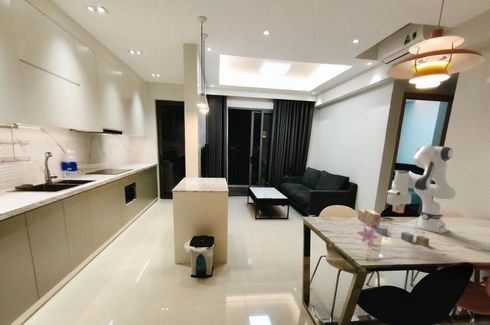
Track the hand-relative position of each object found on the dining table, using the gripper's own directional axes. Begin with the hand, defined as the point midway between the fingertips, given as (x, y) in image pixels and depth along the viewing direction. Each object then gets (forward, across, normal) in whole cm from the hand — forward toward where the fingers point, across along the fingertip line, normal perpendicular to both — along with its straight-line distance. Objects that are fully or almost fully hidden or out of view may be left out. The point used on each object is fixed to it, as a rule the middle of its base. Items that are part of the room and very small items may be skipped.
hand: (398, 209), depth 151 cm
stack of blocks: (+22, -2, -26) cm, 34 cm away
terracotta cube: (+2, 0, 0) cm, 2 cm away
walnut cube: (+22, -9, +13) cm, 27 cm away
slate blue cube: (+22, +5, -7) cm, 23 cm away
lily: (+22, +29, +2) cm, 36 cm away
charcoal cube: (+22, -4, +6) cm, 23 cm away
